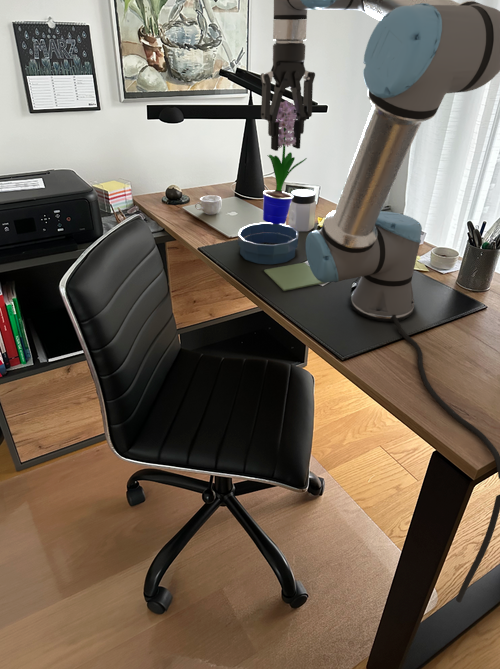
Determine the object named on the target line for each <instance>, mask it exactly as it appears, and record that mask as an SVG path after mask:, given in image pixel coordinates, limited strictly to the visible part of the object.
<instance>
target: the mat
mask: <svg viewBox="0 0 500 669" xmlns="http://www.w3.org/2000/svg"><path fill="white" fill-rule="evenodd" d="M263 272H264V273H265V274H266V275H267V276H268V277H269V278H270V279H271V280H272V281H273V282H274V283H275V284H276V285H277V286H278V287H279V288H280V289H281V290H282V291H283V292H287V291H293V290H297V289H303V288H307V287H312V286H318V285H322V284H325V283H324V282H321V281H319V280H318V279H317V278H316V277H315V276H314V275H313V273H312V271H311V269H310V266H309V264H308V263H306V262H298V263H294V264H293V263H292V264H288V265H283V266H278V267H271V268H267V269H264V270H263Z"/></svg>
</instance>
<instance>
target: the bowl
mask: <svg viewBox="0 0 500 669" xmlns="http://www.w3.org/2000/svg"><path fill="white" fill-rule="evenodd" d="M299 235H300V231H297V230H295V229H294V228H292V227H291V226H288V224H273V223H268V222H259V223H252V224H251V223H250V224H248V225H246V226H243V227H242V228H240V229H239V231H238V233H237V245H238V246H239V255H240V256H241V257H242V258H243V259H244V260H245V261H248V262H251V263H255V264H258V265H259V264H260V265H276V264H278V265H279V264H283V263H287V262H289V261H291V260H293V259H295V257H296V250H297V248H298V246H299ZM264 243H266V244H264ZM267 243H269V244H267ZM271 243H272V244H271Z"/></svg>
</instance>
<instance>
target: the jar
mask: <svg viewBox="0 0 500 669" xmlns="http://www.w3.org/2000/svg"><path fill="white" fill-rule="evenodd" d="M290 194H291V195H292V196H293V198H292V201H291V204H290V208H289V211H288V224H287V226H291V227H292V228H294V229H295V230H297V231H298V232H311V230H312V229H314V228H315V224H316V222H315V221H316V211H317V210H316V208H317V200H316V192H315V191H314V190H311V189H305V188H303V189H302V188H301V189H294V190H292V191H291V193H290Z"/></svg>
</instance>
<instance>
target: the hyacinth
mask: <svg viewBox="0 0 500 669" xmlns="http://www.w3.org/2000/svg"><path fill="white" fill-rule="evenodd" d="M295 110H296V109H295V106H294V102H290V101H288V100H284V101H281V103H280V107H279V111H278V115H277V119H276V122H278V123H279V138H278V149H282V154H281V159H280V157H278V156H277V155H273V154H268V155H267V157H269V159H270V162H271V165H272V169H273V173H274V178H275V186H276V187H275V190H264V191H263V192H262V194H263V206H262V207H263V208H262V220H263V222H265V223H273V224H283V225H285V224H286V221H287V218H288V216H289V208H290V204H291V201H292V198H293V196H292V195H291V193H288V192H285V191H283V185H284V183H285V181H286V180H287V178H288V176H289V175H290V173H291V172H292V171H293V170H294V169H295V168H296V167H297V166H299V165H300V164H302V163H304V162H305V161H306V160H307V159H308V157H305V158H304V159H302V160H300V161H299V162H297V163H295V164H293V163H294V162H295V158H296V157H295V156H294V157H293V153H292V152H291V151H290V152H288V153H287V154H286V147H287V148H288V147H289V146H290V147H291V146H292V147H293V144H295V142H296V137H295V139H294V130H293V128H294V122H295V120H296V119H297V115H296V112H295ZM295 145H296V144H295ZM292 165H293V166H292Z"/></svg>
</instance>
